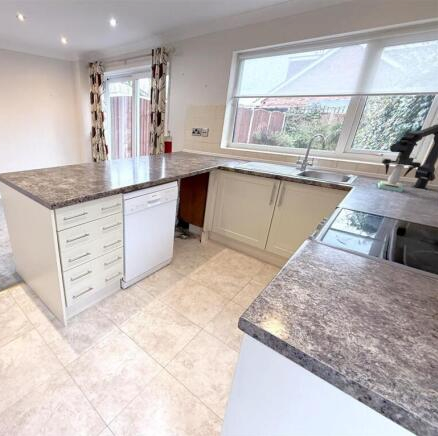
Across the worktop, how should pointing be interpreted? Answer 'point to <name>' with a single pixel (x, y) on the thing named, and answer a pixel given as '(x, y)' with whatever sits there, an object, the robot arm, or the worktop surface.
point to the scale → (390, 187)
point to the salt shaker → (395, 174)
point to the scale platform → (390, 184)
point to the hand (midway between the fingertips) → (394, 175)
